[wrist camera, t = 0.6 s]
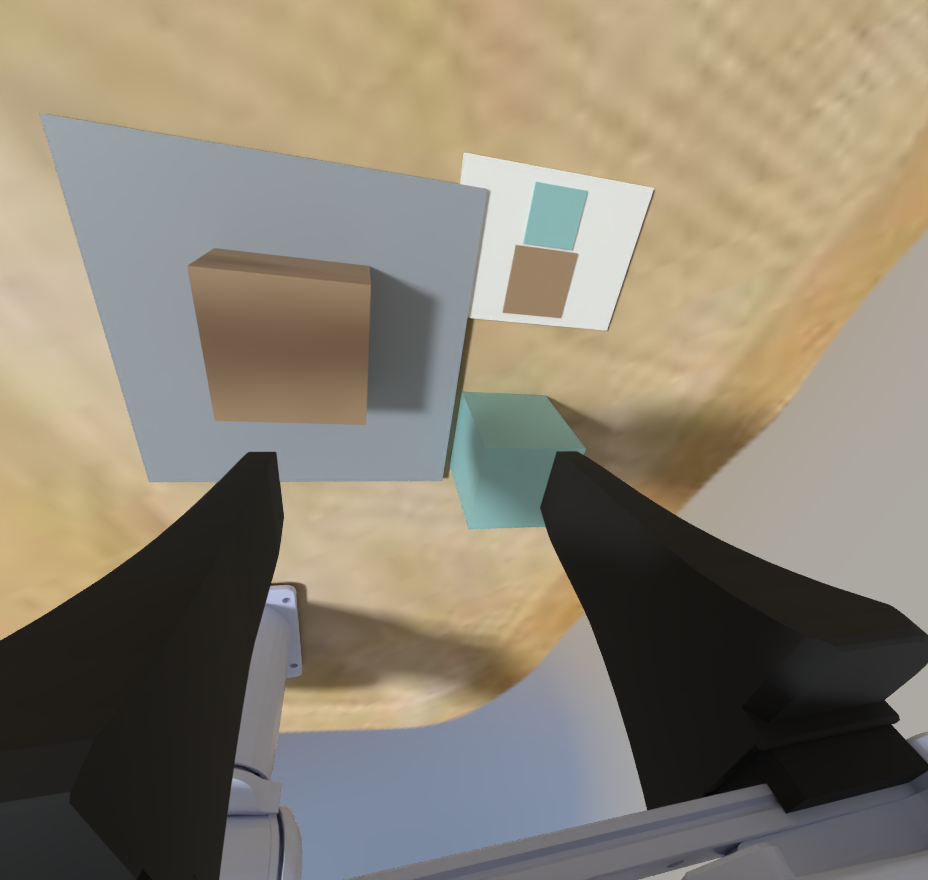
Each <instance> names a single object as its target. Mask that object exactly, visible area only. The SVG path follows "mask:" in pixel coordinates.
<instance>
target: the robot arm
mask: <svg viewBox="0 0 928 880" xmlns="http://www.w3.org/2000/svg"><path fill="white" fill-rule="evenodd" d="M540 510H541V513H542V516H543V520H544V523H545V526H546V529H547V532H548V535H549V538H550V541H551V543H552V545H553V547H554V549H555V551H556V553H557V555H558V557H559V560H560V562H561V564H562V566H563V568H564V570H565V572H566V574H567V576H568V578H569V580H570V582H571V584H572V586H573V588H574V590H575V592H576V594H577V596H578V598H579V600H580V602H581V604H582V607H583V609H584V611H585V613H586V615H587V617H588V620H589V622H590V624H591V627H592V630H593V632H594V635H595V638H596V640H597V643H598V646H599V649H600V651H601V654H602V656H603V659H604V662H605V665H606V668H607V671H608V674H609V677H610V680H611V683H612V686H613V689H614V692H615V695H616V698H617V701H618V705H619V708H620V711H621V715H622V718H623V722H624V725H625V728H626V731H627V735H628V738H629V741H630V745H631V749H632V752H633V756H634V760H635V764H636V768H637V771H638V775H639V779H640V783H641V786H642V790H643V794H644V798H645V803H646V807H647V811H643V812H639V813H634V814H630V815H625V816H621V817H617V818H612V819H608V820H603V821H599V822H595V823H590V824H586V825H582V826H578V827H573V828H568V829H564V830H560V831H555V832H551V833H546V834H542V835H538V836H533V837H529V838H524V839H521V840H516V841H512V842H507V843H503V844H498V845H494V846H489V847H485V848H481V849H476V850H472V851H468V852H463V853H459V854H454V855H450V856H446V857H442V858H437V859H433V860H428V861H424V862H419V863H415V864H411V865H406V866H402V867H398V868H393V869H389V870H384V871H380V872H376V873H371V874H367V875H362V876H358V877H354V878H349V879H345V880H639V879H642V878H646V877H650V876H654V875H657V874H661V873H665V872H668V871H672V870H676V869H679V868H683V867H687V866H690V865H694V864H698V863H702V862H705V861H709V860H712V859H716V858H720V857H722V858H720V859H718V860H716V861H713V862H711V863H708V864H706V865H703V866H701V867H699V868H696V869H694V870H691V871H689V872H687V873H686V874H685V876H684V877H683V879H682V880H928V732H924V733H921V734H918V735H915V736H913V737H911V738H909V739H907V740H905V739H904V738H903V737H902V735H901V734H900V733H899V732H898V731H897V730H896V729H895V728H894V727H893V726H892V725H891V724H895V723H897V722H898V721H899V720H900V719H899V715H898V714H897V713H896V712H895V711H894V710H893V709H892V708H891V706H889V705H888V703H887V702H886V701H885V699H886V698H887V697H889V696H890V695H891V694H892V693H894V692H895V691H896V690H897V689H899V688H900V687H901V686H902V685H904V684H905V683H906V682H907V681H908V680H910V679H911V678H912V677H913V676H915V675H916V674H917V673H918V672H919V671H920V670H921V669H922V668H923V667H925V666H926V664H927V663H928V635H927V634H926V633H925V632H924V631H923V630H921V629H920V628H919V627H918V626H917V625H916V624H914V623H913V622H912V621H911V620H910V619H908V618H907V617H906V616H905V615H904V614H902V613H901V612H900V611H898V610H897V609H895V608H894V607H892V606H891V605H888V604H885V603H882V602H879V601H876V600H873V599H870V598H867V597H864V596H861V595H857V594H854V593H851V592H848V591H845V590H842V589H839V588H836V587H833V586H830V585H827V584H824V583H821V582H819V581H816V580H813V579H811V578H808V577H805V576H803V575H800V574H797V573H795V572H792V571H790V570H787V569H784V568H782V567H780V566H777V565H775V564H772V563H770V562H767V561H765V560H763V559H761V558H759V557H756V556H754V555H752V554H750V553H747V552H745V551H743V550H741V549H738V548H736V547H734V546H732V545H730V544H728V543H726V542H724V541H721V540H720V539H718V538H716V537H714V536H712V535H710V534H708V533H707V532H705V531H703V530H701V529H699V528H697V527H695V526H693V525H692V524H690V523H688V522H686V521H685V520H683V519H681V518H679V517H678V516H676V515H674V514H673V513H671V512H669V511H668V510H666V509H665V508H663V507H661V506H660V505H658V504H656V503H655V502H653V501H652V500H650V499H649V498H647V497H646V496H644V495H643V494H641V493H640V492H638V491H637V490H635V489H634V488H632V487H631V486H629V485H628V484H626V483H625V482H623V481H622V480H620V479H619V478H617V477H616V476H615V475H613V474H612V473H610V472H609V471H607V470H606V469H604V468H603V467H601V466H600V465H598V464H597V463H595V462H594V461H592V460H591V459H589V458H588V457H586V456H584V455H583V454H581V453H579V452H577V451H557V452H556V455H555V459H554V462H553V465H552V469H551V472H550V475H549V479H548V482H547V486H546V489H545V492H544V496H543V499H542V502H541V506H540ZM283 520H284V513H283V504H282V496H281V487H280V479H279V470H278V461H277V453H276V452H248V453H246V454H245V455H244V456H243V457H242V458H241V459H240V460H239V461H238V462H237V463H236V464H235V465H234V466H233V467H232V468H231V469H230V470H229V471H228V472H227V473H226V474H225V475H224V476H223V477H222V478H221V479H220V480H219V481H218V482H217V483H216V484H215V485H214V486H213V487H212V488H211V489H210V490H209V491H208V492H207V493H206V494H205V495H204V496H203V497H202V498H201V499H200V500H199V501H198V502H197V503H196V504H195V505H193V506H192V507H191V508H190V509H189V510H188V511H187V512H186V513H185V514H184V515H183V516H181V517H180V518H179V519H178V520H177V521H176V522H174V523H173V524H172V525H171V526H170V527H169V528H167V529H166V530H165V531H164V532H163V533H162V534H160V535H159V536H158V537H157V538H156V539H154V540H153V541H152V542H151V543H149V544H148V545H147V546H146V547H144V548H143V549H142V550H140V551H139V552H138V553H137V554H135V555H134V556H132V557H131V558H130V559H128V560H127V561H126V562H124V563H123V564H121V565H120V566H119V567H117V568H116V569H114V570H113V571H112V572H110V573H109V574H107V575H106V576H104V577H103V578H102V579H100V580H98V581H97V582H95V583H94V584H92V585H91V586H89V587H88V588H86V589H84V590H83V591H81V592H80V593H78V594H77V595H75V596H73V597H72V598H70V599H69V600H67V601H66V602H64V603H63V604H61V605H59V606H58V607H56V608H55V609H53V610H52V611H50V612H48V613H47V614H45V615H44V616H42V617H40V618H39V619H37V620H35V621H33V622H32V623H30V624H28V625H27V626H25V627H23V628H21V629H20V630H18V631H16V632H14V633H13V634H11V635H9V636H8V637H6V638H4V639H2V640H0V880H301V876H302V840H301V834H300V830H299V827H298V825H297V823H296V821H295V817H294V815H293V812H292V811H291V809H290V808H289V807H288V806H279V802H280V794H281V786H282V783H281V782H278V781H271V775H272V771H273V767H274V762H275V755H276V748H277V741H278V734H279V727H280V720H281V713H282V706H283V698H284V691H285V684H286V678H293V677H298V676H300V675H301V674H302V669H303V668H302V656H301V644H300V633H299V621H298V609H297V597H296V589H295V587H293V586H291V585H276V586H271V582H272V578H273V574H274V571H275V567H276V563H277V559H278V555H279V550H280V543H281V536H282V528H283Z"/></svg>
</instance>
